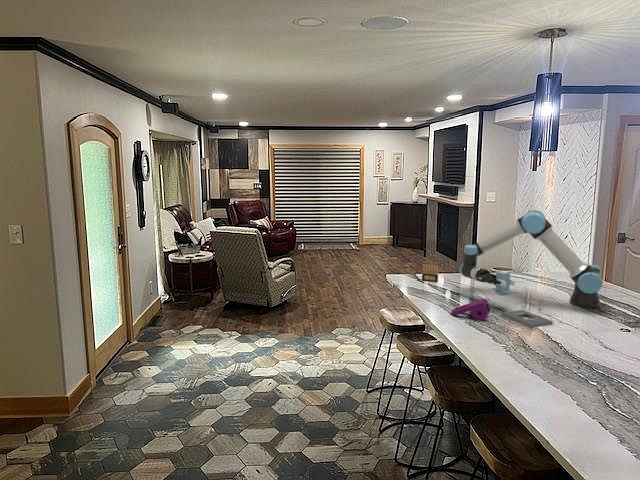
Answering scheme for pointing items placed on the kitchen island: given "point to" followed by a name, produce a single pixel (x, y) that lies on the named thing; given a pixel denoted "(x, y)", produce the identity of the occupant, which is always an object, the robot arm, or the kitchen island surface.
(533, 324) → the plate
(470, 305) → the mounting bracket
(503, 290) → the block
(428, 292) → the kitchen island surface
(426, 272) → the ammunition clip
